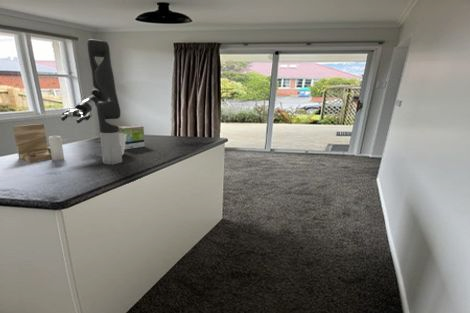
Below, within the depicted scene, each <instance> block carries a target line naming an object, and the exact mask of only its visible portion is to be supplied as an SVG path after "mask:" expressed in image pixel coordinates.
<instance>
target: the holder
mask: <svg viewBox="0 0 470 313" xmlns="http://www.w3.org/2000/svg"><path fill="white" fill-rule="evenodd" d="M12 129H13V133H14V134H13V135H14V139H15V144H16V150H17V154H18V155H17V156H18V159H20V160H23V161H26V162H28V163H34V162H35V163H36V162H41V161H45V160H50V159H51V160H52V156H51V150H50V147H48V142H47V141H48V140H47V136H46V129H45V125H44V123H37V124H36V123H34V124H25V125H24V124H22V125H12Z"/></svg>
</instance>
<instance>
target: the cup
mask: <svg viewBox="0 0 470 313" xmlns="http://www.w3.org/2000/svg"><path fill="white" fill-rule="evenodd" d="M119 138H120V146H121V150H122V156H123V155H124V153H125V150H124V148H125V141H126V134H123V133H119Z"/></svg>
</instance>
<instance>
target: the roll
mask: <svg viewBox="0 0 470 313" xmlns="http://www.w3.org/2000/svg"><path fill="white" fill-rule="evenodd" d="M48 143H49V148H50V150H51V156H52V159H51V160H52V162H57V161H58V160H59V161H63V160H65V155H64V148H63V141H62V136H61V135H50V136H48Z"/></svg>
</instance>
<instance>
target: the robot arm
mask: <svg viewBox="0 0 470 313" xmlns="http://www.w3.org/2000/svg"><path fill="white" fill-rule="evenodd" d="M86 43H87V53H88V60H89V64H90V69H91V74H92V75H91V76H92V86H93V89H91V91H90V94H89V95H88V96H87V97H86V98H85V99H83V100H81V101H80V102H79V103H78V104H76V105H75V107H74V108H73V109H71V108H69V107H67V108H66V109H65V110H63V111H62V112H61V114H62V116H60V118H61V121H62V122H63V121H65V120H67V118H73V117H77V119H76V123H77V124H80V123H82V122H83V121H89V120H90V119H91V118H92V117H93V115H92V111H94V109H96V112H97V113H96V114H97V117H98V124H99V137H100V145H101V154H102V156H101V157H102V163H103V164H104V165H112V166H113V165H116V164H120V163H123V155H122V150H121V146H120V138H119V128H118V126H119V125H115V124H112V123H109V122H107V120H118V119H120V118H121V107H120V103H119V99H118V95H117V90H116V83H115V76H114V72H113V67H112V62H111V51H110V45H109V43H108V42H107V41H105V40H101V39H93V38H89V39H88V40H87V42H86ZM96 58H102V61H101V62H100V63H99V64H98V62H97V60H96ZM109 100H110V101H109Z"/></svg>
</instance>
